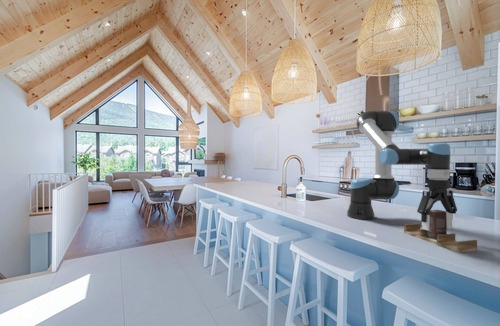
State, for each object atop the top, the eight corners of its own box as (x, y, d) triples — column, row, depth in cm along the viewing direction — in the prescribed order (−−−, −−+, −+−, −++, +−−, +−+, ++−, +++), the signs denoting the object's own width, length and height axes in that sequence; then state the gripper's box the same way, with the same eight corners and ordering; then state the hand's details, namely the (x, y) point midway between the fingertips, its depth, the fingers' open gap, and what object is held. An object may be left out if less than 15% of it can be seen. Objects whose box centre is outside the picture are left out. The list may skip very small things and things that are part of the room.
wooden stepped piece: (403, 232, 112) (404, 224, 112) (418, 231, 114) (419, 223, 114) (459, 252, 89) (459, 242, 89) (477, 250, 91) (477, 240, 91)
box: (437, 235, 104) (437, 209, 104) (447, 239, 100) (447, 211, 100) (425, 236, 103) (426, 209, 103) (435, 240, 99) (435, 212, 99)
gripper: (424, 180, 94) (423, 233, 95) (469, 179, 100) (467, 229, 100) (407, 178, 102) (406, 227, 102) (450, 177, 107) (449, 224, 108)
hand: (436, 228), depth 101 cm, fingers open, 12 cm apart
